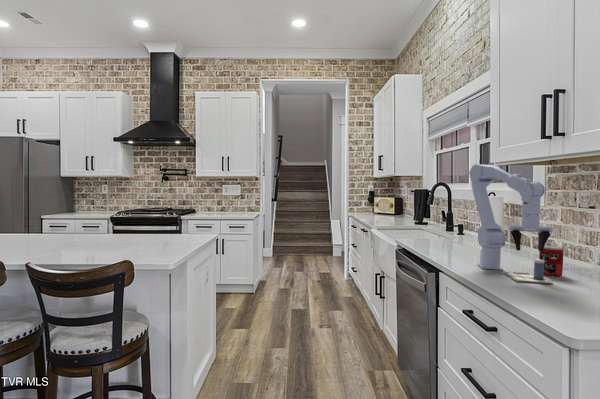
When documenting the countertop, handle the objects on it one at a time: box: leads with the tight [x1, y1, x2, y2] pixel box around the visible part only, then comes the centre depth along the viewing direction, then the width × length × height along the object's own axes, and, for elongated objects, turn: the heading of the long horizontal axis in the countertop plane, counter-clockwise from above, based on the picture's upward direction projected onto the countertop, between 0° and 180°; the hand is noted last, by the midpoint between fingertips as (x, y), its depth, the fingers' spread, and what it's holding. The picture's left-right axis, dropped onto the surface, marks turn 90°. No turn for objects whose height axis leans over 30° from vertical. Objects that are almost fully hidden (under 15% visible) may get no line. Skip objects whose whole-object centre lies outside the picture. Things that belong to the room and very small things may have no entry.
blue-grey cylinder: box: [533, 258, 545, 280], centre depth 143 cm, size 3×3×7 cm
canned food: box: [538, 244, 564, 278], centre depth 154 cm, size 8×8×11 cm
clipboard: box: [503, 271, 554, 285], centre depth 146 cm, size 14×12×1 cm
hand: (529, 250), depth 147 cm, fingers open, 7 cm apart
